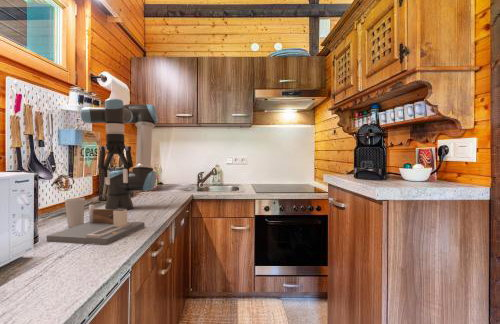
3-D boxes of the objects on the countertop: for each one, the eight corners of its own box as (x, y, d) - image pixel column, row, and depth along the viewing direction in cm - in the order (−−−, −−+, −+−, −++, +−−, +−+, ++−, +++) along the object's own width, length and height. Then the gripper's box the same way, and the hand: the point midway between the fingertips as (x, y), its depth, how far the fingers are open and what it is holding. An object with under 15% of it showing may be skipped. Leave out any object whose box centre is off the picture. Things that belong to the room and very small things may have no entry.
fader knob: (119, 224, 120) (119, 208, 119) (127, 225, 119) (126, 208, 119) (113, 227, 116) (113, 210, 115) (121, 227, 115) (120, 210, 115)
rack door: (95, 222, 125) (95, 208, 125) (118, 223, 123) (117, 209, 122) (91, 223, 123) (91, 210, 122) (114, 224, 120) (114, 210, 120)
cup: (76, 227, 124) (75, 201, 124) (61, 227, 126) (60, 200, 125) (89, 223, 132) (88, 198, 132) (75, 222, 134) (74, 197, 133)
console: (94, 224, 129) (93, 203, 129) (144, 226, 124) (143, 204, 124) (46, 240, 106) (45, 214, 105) (106, 244, 100) (105, 217, 100)
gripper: (132, 134, 137) (133, 181, 137) (87, 133, 120) (89, 185, 121) (140, 134, 132) (141, 182, 133) (95, 132, 116) (97, 186, 117)
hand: (116, 183), depth 127 cm, fingers open, 8 cm apart
